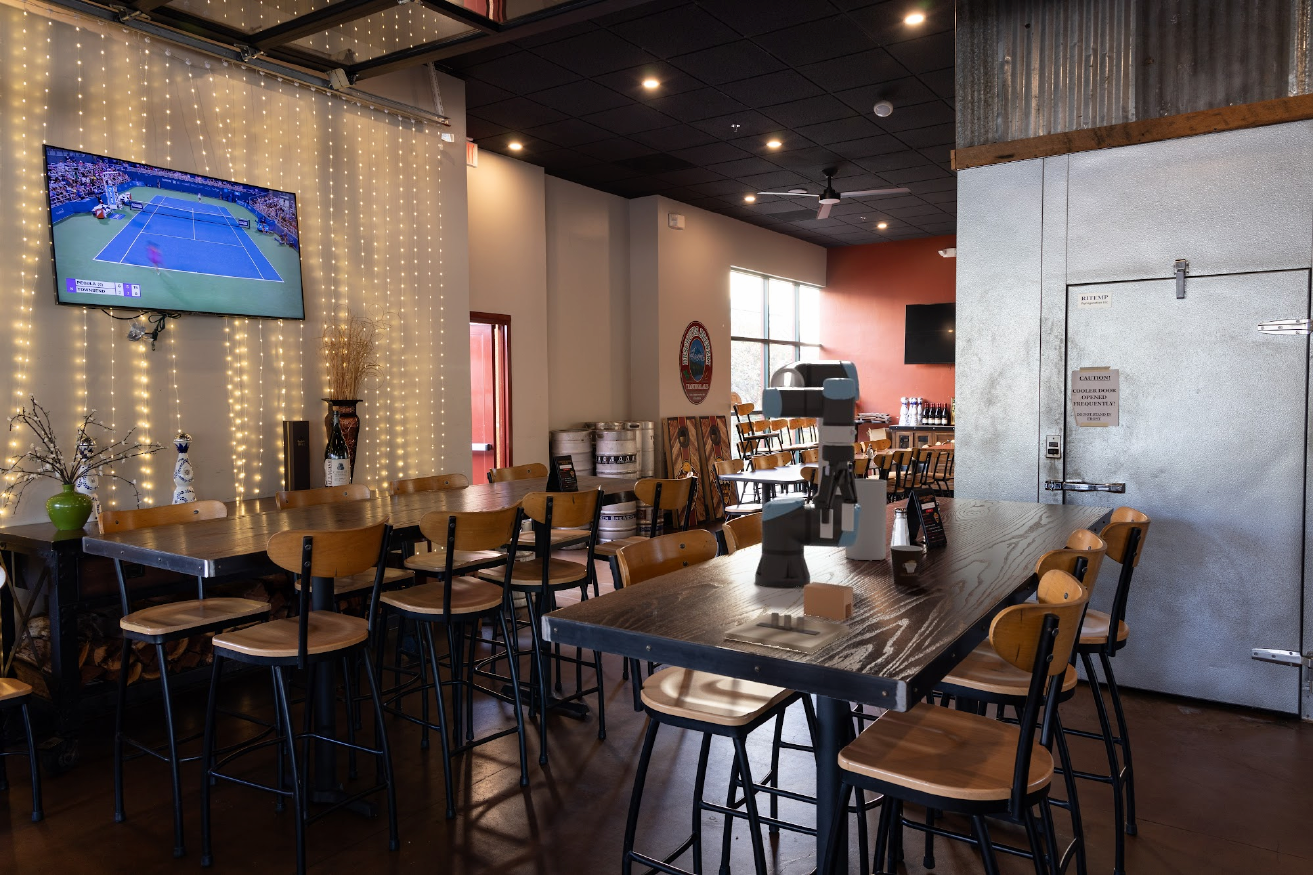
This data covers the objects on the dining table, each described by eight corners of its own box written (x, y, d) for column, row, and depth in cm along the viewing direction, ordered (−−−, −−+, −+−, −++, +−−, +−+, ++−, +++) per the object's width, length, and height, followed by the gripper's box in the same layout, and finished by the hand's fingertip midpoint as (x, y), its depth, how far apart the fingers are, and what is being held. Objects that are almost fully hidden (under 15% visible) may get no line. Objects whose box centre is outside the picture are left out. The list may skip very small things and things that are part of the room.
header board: (724, 639, 187) (724, 618, 187) (766, 619, 203) (767, 600, 203) (811, 654, 176) (811, 632, 175) (849, 632, 192) (849, 612, 192)
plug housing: (803, 615, 208) (803, 585, 208) (813, 610, 213) (813, 581, 213) (843, 621, 203) (844, 591, 202) (852, 616, 207) (853, 586, 207)
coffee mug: (887, 585, 241) (888, 549, 241) (891, 579, 249) (892, 544, 249) (932, 589, 237) (932, 552, 236) (934, 582, 245) (935, 547, 244)
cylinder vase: (842, 554, 289) (843, 478, 288) (880, 554, 289) (881, 478, 288) (849, 561, 277) (850, 482, 275) (889, 561, 276) (890, 482, 275)
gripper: (833, 446, 194) (832, 542, 195) (871, 442, 215) (870, 529, 216) (802, 445, 198) (801, 539, 199) (842, 441, 219) (841, 526, 220)
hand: (837, 534), depth 208 cm, fingers open, 13 cm apart
